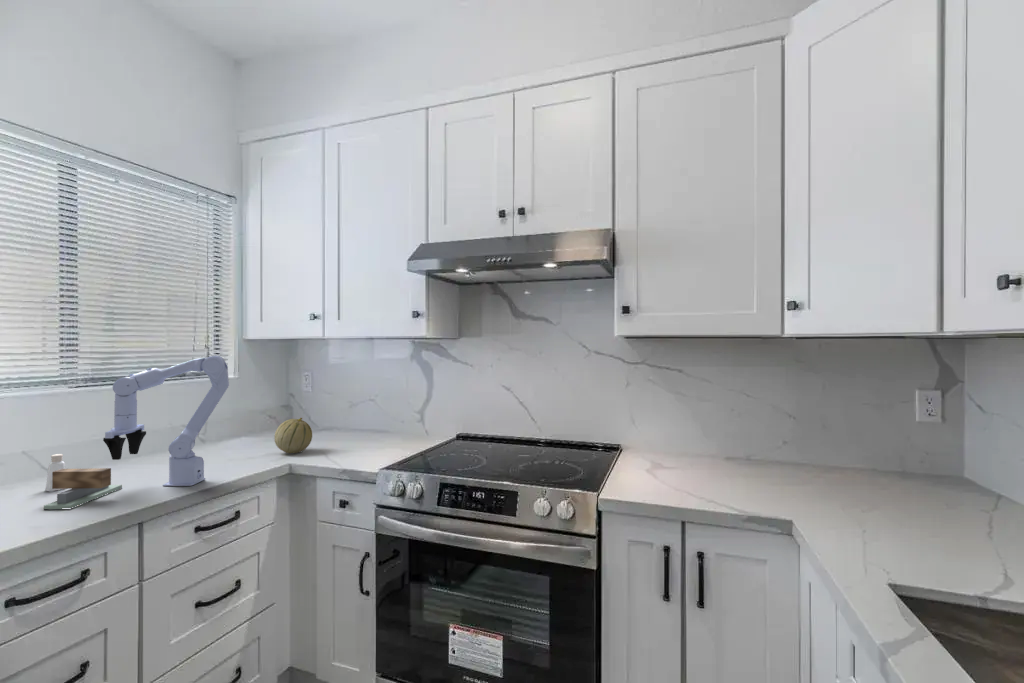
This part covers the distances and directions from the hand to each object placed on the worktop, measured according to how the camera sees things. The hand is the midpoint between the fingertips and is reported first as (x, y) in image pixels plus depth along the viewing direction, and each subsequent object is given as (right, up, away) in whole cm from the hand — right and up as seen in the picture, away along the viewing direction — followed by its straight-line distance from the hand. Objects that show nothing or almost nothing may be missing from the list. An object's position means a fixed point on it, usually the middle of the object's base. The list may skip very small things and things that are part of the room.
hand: (125, 456), depth 159 cm
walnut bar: (-4, -6, -11) cm, 14 cm away
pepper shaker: (-22, -11, 0) cm, 24 cm away
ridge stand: (-4, -10, -10) cm, 15 cm away
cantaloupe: (+31, -11, +52) cm, 62 cm away
